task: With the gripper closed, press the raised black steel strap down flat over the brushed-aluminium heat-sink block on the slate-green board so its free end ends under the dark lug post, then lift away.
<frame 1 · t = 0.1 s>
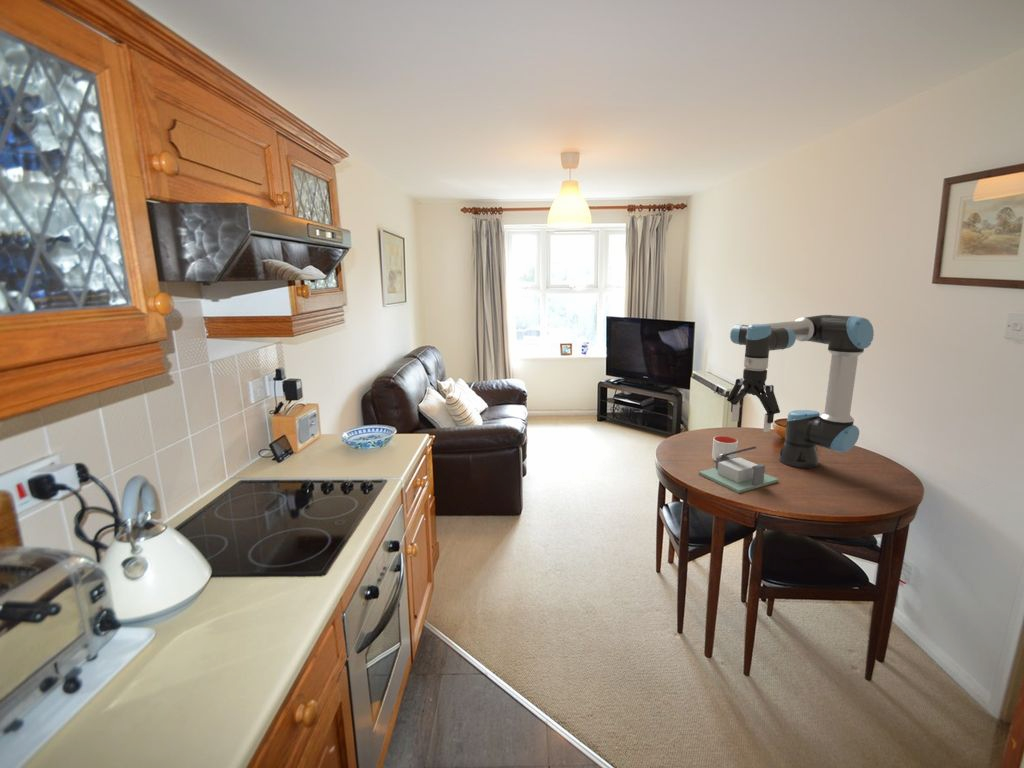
hand: (750, 426, 175), 28 cm above the table, fingers open, 13 cm apart
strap: (737, 452, 197), point 11 cm above the table, hinge at 30.0°
heatsink base: (737, 478, 198), on the table
cup: (723, 461, 216), on the table
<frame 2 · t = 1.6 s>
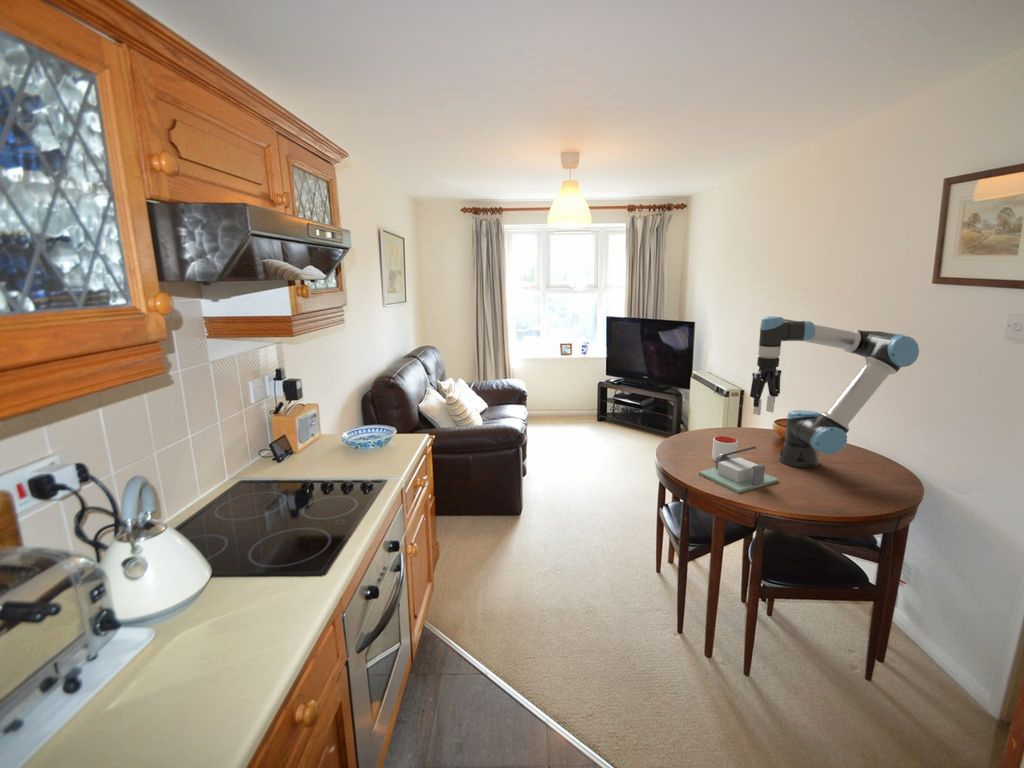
hand: (763, 412, 194), 27 cm above the table, fingers open, 7 cm apart
nothing on the table moved.
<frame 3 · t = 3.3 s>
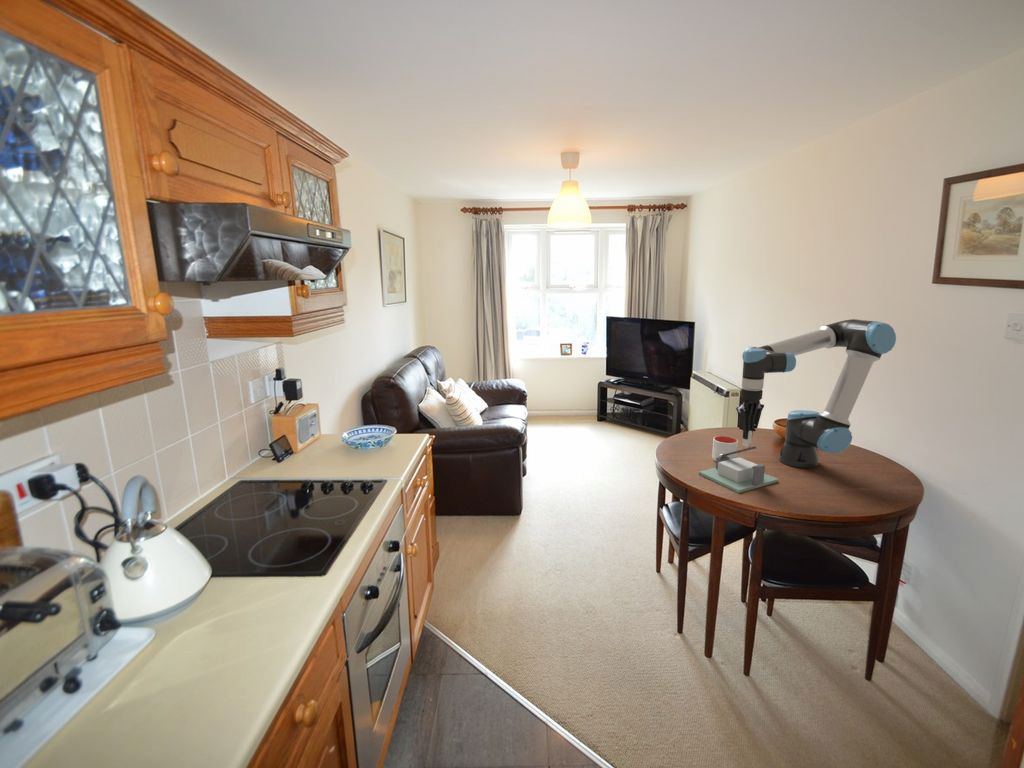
hand: (746, 446, 192), 15 cm above the table, fingers closed
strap: (737, 452, 197), point 11 cm above the table, hinge at 30.0°, touching gripper
everything else where it was.
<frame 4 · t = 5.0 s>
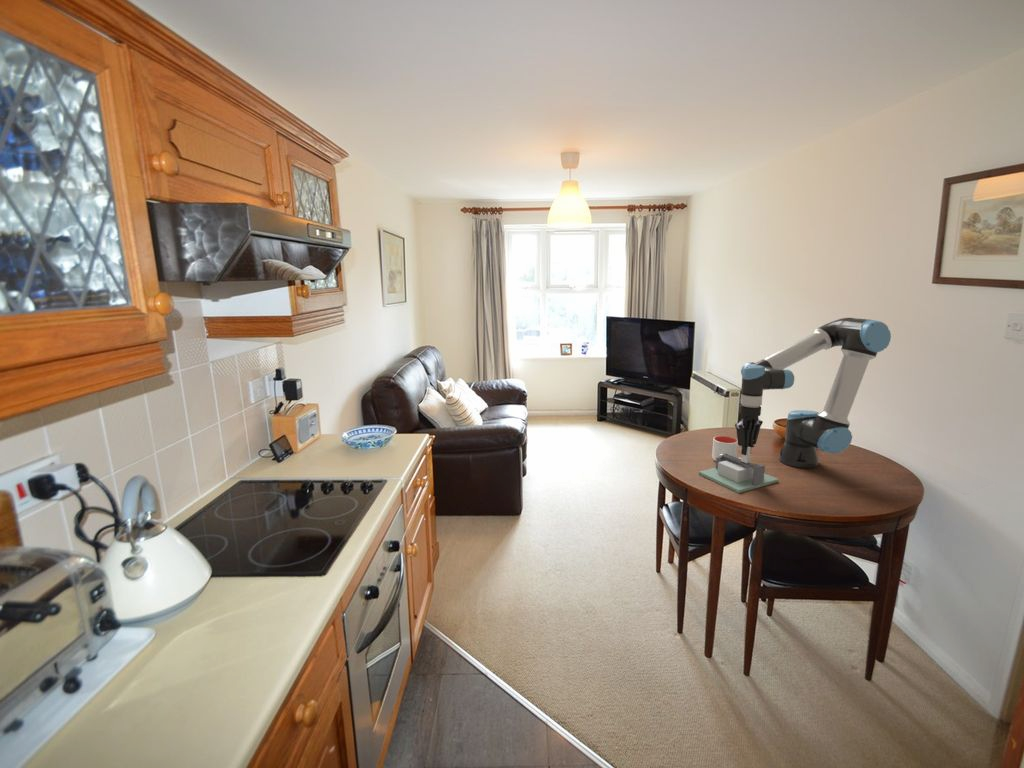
hand: (745, 461, 193), 8 cm above the table, fingers closed
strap: (738, 460, 197), point 7 cm above the table, hinge at 3.6°, touching gripper
everything else where it was.
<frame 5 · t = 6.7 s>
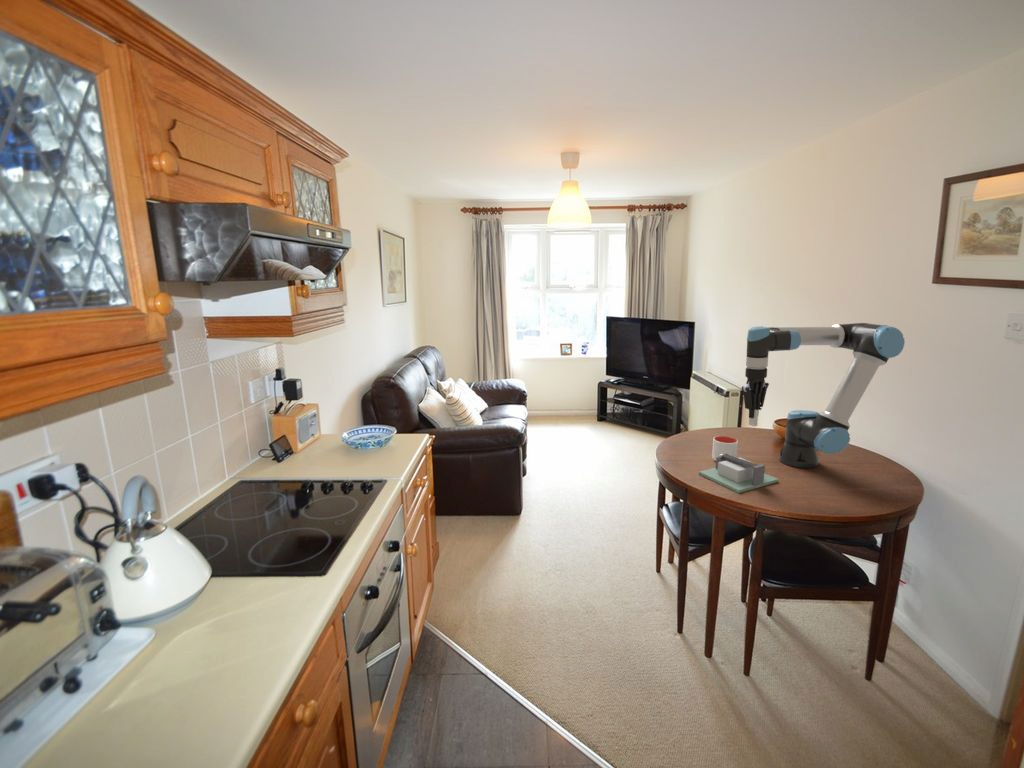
hand: (753, 425, 193), 23 cm above the table, fingers closed
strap: (738, 460, 197), point 7 cm above the table, hinge at 3.6°
everything else where it was.
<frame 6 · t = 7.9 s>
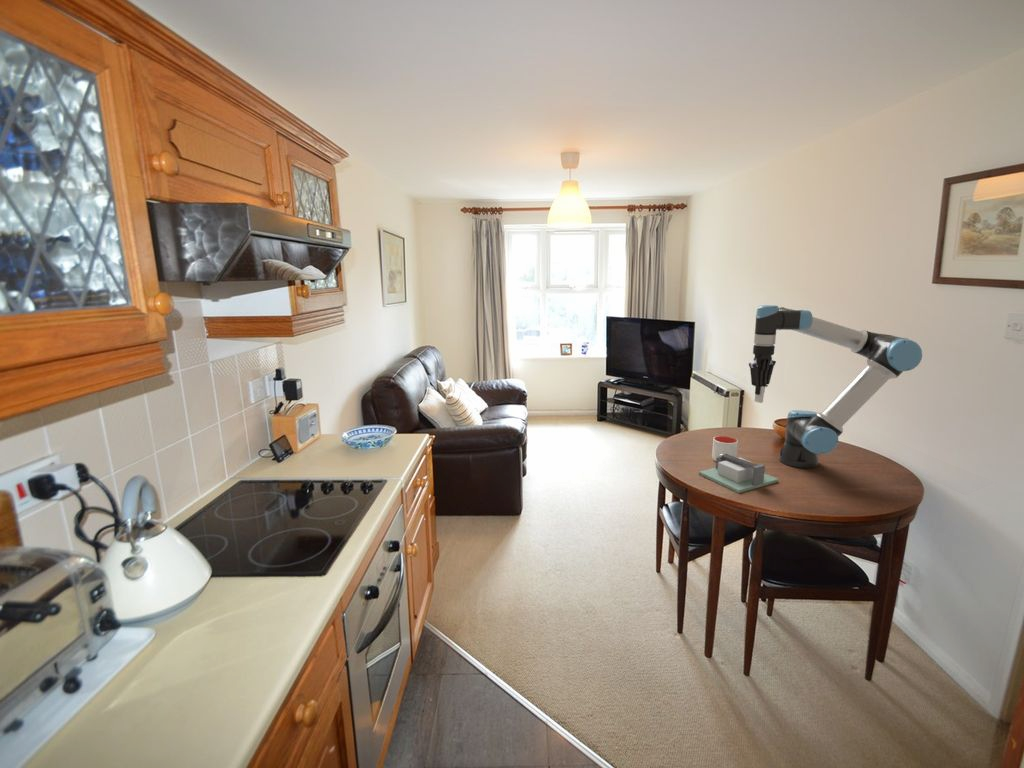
hand: (758, 401, 197), 30 cm above the table, fingers closed
nothing on the table moved.
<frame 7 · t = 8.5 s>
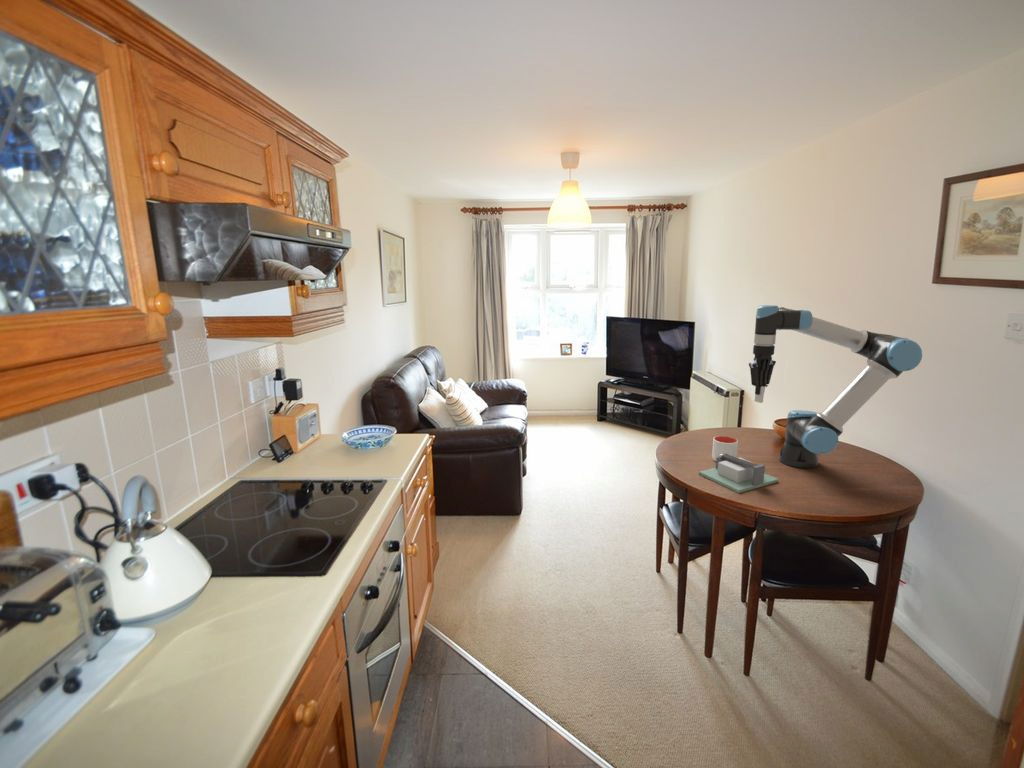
hand: (758, 401, 197), 30 cm above the table, fingers closed
nothing on the table moved.
at the end: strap at +4° (first picture: +30°) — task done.
